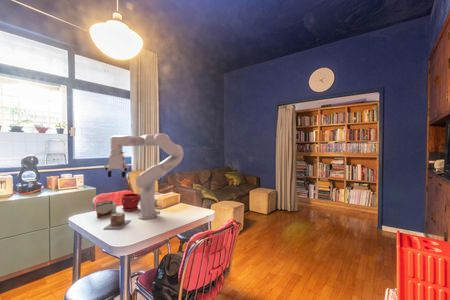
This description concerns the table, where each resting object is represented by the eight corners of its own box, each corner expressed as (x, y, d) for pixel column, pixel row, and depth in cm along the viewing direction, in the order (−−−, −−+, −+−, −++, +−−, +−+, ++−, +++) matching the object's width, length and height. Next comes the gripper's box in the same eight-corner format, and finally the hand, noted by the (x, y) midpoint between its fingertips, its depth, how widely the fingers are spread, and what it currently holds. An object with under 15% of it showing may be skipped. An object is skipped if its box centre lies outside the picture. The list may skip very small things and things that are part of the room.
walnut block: (124, 222, 140) (124, 213, 140) (120, 225, 134) (120, 216, 134) (115, 222, 140) (115, 213, 140) (110, 225, 134) (110, 216, 134)
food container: (108, 212, 163) (109, 199, 162) (113, 214, 159) (113, 200, 159) (91, 217, 152) (91, 203, 152) (95, 218, 149) (95, 204, 149)
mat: (130, 221, 145) (130, 220, 145) (120, 229, 130) (120, 228, 130) (115, 221, 144) (115, 220, 144) (103, 229, 129) (103, 228, 129)
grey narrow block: (117, 211, 166) (117, 202, 166) (113, 214, 160) (113, 204, 160) (109, 211, 166) (109, 202, 166) (105, 214, 160) (105, 204, 160)
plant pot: (124, 213, 162) (124, 197, 162) (119, 209, 171) (119, 194, 171) (142, 210, 171) (142, 195, 170) (136, 206, 180) (136, 192, 180)
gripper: (131, 153, 157) (131, 176, 158) (107, 153, 157) (107, 176, 157) (126, 153, 150) (126, 177, 150) (101, 153, 150) (101, 177, 150)
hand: (116, 177), depth 154 cm, fingers open, 9 cm apart
